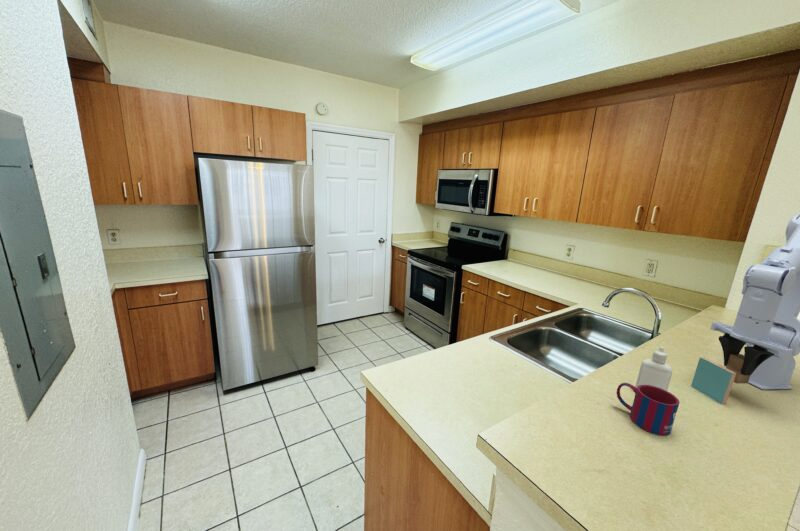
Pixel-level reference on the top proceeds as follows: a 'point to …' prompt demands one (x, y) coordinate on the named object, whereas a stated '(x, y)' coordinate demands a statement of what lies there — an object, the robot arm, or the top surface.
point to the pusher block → (737, 368)
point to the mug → (652, 408)
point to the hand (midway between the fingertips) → (737, 370)
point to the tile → (713, 380)
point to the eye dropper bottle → (655, 371)
